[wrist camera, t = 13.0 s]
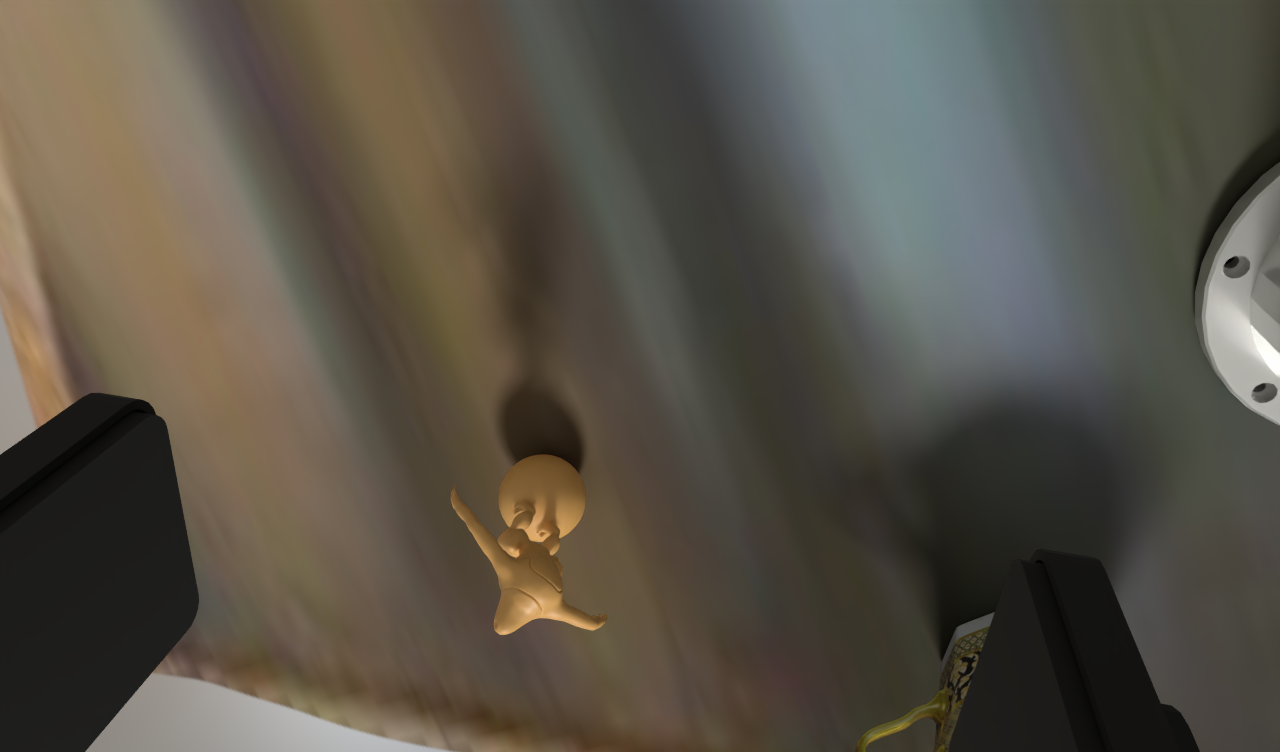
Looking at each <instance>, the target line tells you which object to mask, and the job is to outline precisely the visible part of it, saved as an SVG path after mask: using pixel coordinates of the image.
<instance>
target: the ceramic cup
mask: <svg viewBox="0 0 1280 752" xmlns="http://www.w3.org/2000/svg"><path fill="white" fill-rule="evenodd" d="M994 613H995V612H993V613H991V614H988V615H986V616H983V617H980V618H978V619H975V620H972V621H970V622H967V623H965V624H962V625H960V626H958V627H957V628H956V630H955V632H954V634H953V637H952V639H951V641H950V644H949V646H948V648H947V651H946V653H945V655H944V658H943V660H942V664H941V678H940V691H938V692H937V693H936V695H935V696H934V698H933V699H932V700H931V701H930V702H929V703H927V704H925V705H922V706H919V707H916V708H915V709H913V710H912V711H910V712H909V713H907V714H906V715H905V716H903V717H901V718H899V719H896V720H894V721H891V722H888V723H885V724H882V725H879V726H877V727H874V728H872V729H870V730H869V731H867V732H866V733H864V735H863V736H862V737H861V738H860V740H859V742H858V744H857V746H856V752H866V751H865V749H866V746H867V745H868V744H869V743H871V742H873V741H875V740H877V739H879V738H882V737H885V736H888V735H891V734H894V733H896V732H899V731H901V730H903V729H905V728H907V727H908V726H910V725H911V724H912V723H913V722H915V721H916V720H918V719H921V718H931V719H933V720H934V721H935V723H936V736H935V747H934V752H948V750H949V744H950V740H951V737H952V734H953V731H954V728H955V725H956V722H957V719H958V717H959V714H960V711H961V708H962V705H963V702H964V699H965V696H966V693H967V691H968V688H969V685H970V682H971V679H972V676H973V673H974V670H975V667H976V665H977V662H978V659H979V656H980V653H981V650H982V647H983V644H984V641H985V639H986V636H987V633H988V630H989V627H990V624H991V621H992V618H993V615H994Z"/></svg>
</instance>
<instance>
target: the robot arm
mask: <svg viewBox="0 0 1280 752" xmlns="http://www.w3.org/2000/svg"><path fill="white" fill-rule="evenodd" d="M1232 257H1234V259H1233V260H1232V262H1230V263H1228V264H1225V263H1226V261H1227V260H1228V259H1230V258H1232ZM1195 324H1196V328H1197V332H1198V336H1199V340H1200V344H1201V348H1202V350H1203V352H1204V354H1205V356H1206V357H1207V359H1208V361H1209V363H1210V365H1211V367H1212V369H1213V371H1214V372H1215V373H1216V374H1217V376H1218V377H1219V378H1220V379H1221V380H1222V382H1223V383H1224V384H1225V386H1226V387H1227V388H1228V389H1229V391H1230V392H1231V393H1232V394H1233V395H1234V396H1235V397H1237V398H1238V399H1239V400H1240V401H1241V402H1242V403H1243V404H1244V405H1245V406H1246V407H1248V408H1249V409H1250V410H1252V411H1254V412H1256V413H1258V414H1259V415H1261V416H1263V417H1265V418H1267V419H1268V420H1270V421H1272V422H1274V423H1276V424H1278V425H1280V162H1279V163H1277V164H1276V165H1275V166H1274V167H1272V168H1271V169H1270V170H1268V171H1267V172H1266V173H1265V174H1263V175H1262V176H1261V177H1260V178H1259V179H1258V180H1257V181H1256V182H1255V183H1254V184H1253V185H1252V187H1251V188H1250V189H1249V190H1248V191H1247V192H1246V193H1245V194H1244V195H1243V196H1242V197H1241V198H1240V199H1239V200H1238V201H1237V202H1236V203H1235V205H1234V206H1233V208H1232V209H1231V211H1230V212H1229V214H1228V215H1227V216H1226V218H1225V219H1224V221H1223V222H1222V224H1221V225H1220V227H1219V228H1218V230H1217V231H1216V232H1215V235H1214V237H1213V239H1212V241H1211V243H1210V246H1209V248H1208V250H1207V252H1206V255H1205V257H1204V259H1203V261H1202V264H1201V268H1200V273H1199V277H1198V282H1197V286H1196V290H1195ZM198 604H199V595H198V589H197V584H196V579H195V573H194V568H193V563H192V557H191V552H190V546H189V541H188V536H187V530H186V525H185V520H184V514H183V509H182V504H181V498H180V493H179V488H178V482H177V477H176V472H175V466H174V461H173V456H172V450H171V445H170V440H169V434H168V429H167V426H166V423H165V421H164V420H163V419H162V417H159V416H157V415H156V414H155V411H154V409H153V407H152V406H151V405H150V404H149V403H148V402H146V401H144V400H140V399H134V398H128V397H122V396H116V395H110V394H104V393H90V394H88V395H86V396H84V397H82V398H81V399H79V400H78V401H77V402H75V403H74V404H72V405H71V406H69V407H68V408H67V409H65V410H64V411H62V412H61V413H59V414H58V415H57V416H55V417H54V418H52V419H51V420H49V421H48V422H47V423H45V424H44V425H42V426H41V427H39V428H38V429H36V430H35V431H34V432H32V433H31V434H30V435H28V436H27V437H25V438H24V439H22V440H21V441H19V442H18V443H17V444H15V445H14V446H12V447H11V448H9V449H8V450H6V451H5V452H4V453H2V454H1V455H0V752H85V751H86V750H87V749H88V748H89V746H90V745H91V744H92V743H93V742H94V740H95V739H96V738H97V737H98V736H99V734H100V733H101V732H102V731H103V730H104V729H105V727H106V726H107V725H108V724H109V723H110V722H111V720H112V719H113V718H114V717H115V716H116V714H117V713H118V712H119V711H120V710H121V709H122V707H123V706H124V705H125V703H127V701H128V700H129V699H130V698H131V697H132V696H133V694H134V693H135V692H136V691H137V690H138V688H139V687H140V686H141V685H142V684H143V682H144V681H145V680H146V679H147V678H148V677H149V675H150V674H151V673H152V672H153V671H154V670H155V668H156V667H157V666H158V665H159V664H160V662H161V661H162V660H163V659H164V658H165V657H166V655H167V654H168V653H169V652H170V651H171V649H172V648H173V647H174V646H175V645H176V644H177V642H178V641H179V640H180V639H181V638H182V636H183V635H184V634H185V633H186V632H187V631H188V629H189V628H190V626H191V625H192V623H193V621H194V619H195V617H196V613H197V610H198ZM948 752H1200V751H1199V748H1198V746H1197V744H1196V742H1195V739H1194V737H1193V735H1192V732H1191V730H1190V728H1189V726H1188V724H1187V723H1186V721H1185V719H1184V718H1183V716H1182V714H1181V713H1180V712H1179V711H1178V710H1176V709H1175V708H1174V707H1173V706H1171V705H1166V704H1161V703H1160V701H1159V699H1158V696H1157V694H1156V691H1155V689H1154V687H1153V684H1152V682H1151V679H1150V677H1149V675H1148V672H1147V670H1146V667H1145V665H1144V663H1143V660H1142V658H1141V655H1140V653H1139V650H1138V648H1137V646H1136V643H1135V641H1134V638H1133V636H1132V634H1131V631H1130V629H1129V626H1128V624H1127V622H1126V619H1125V617H1124V614H1123V612H1122V610H1121V607H1120V605H1119V602H1118V600H1117V597H1116V595H1115V593H1114V590H1113V588H1112V585H1111V583H1110V581H1109V578H1108V576H1107V573H1106V571H1105V569H1104V567H1103V565H1102V563H1101V562H1100V561H1099V560H1098V559H1096V558H1092V557H1086V556H1080V555H1074V554H1068V553H1062V552H1056V551H1050V550H1044V549H1040V550H1037V551H1036V552H1035V553H1034V554H1033V555H1032V557H1031V559H1030V561H1023V560H1015V561H1014V562H1013V564H1012V565H1011V567H1010V570H1009V572H1008V575H1007V578H1006V581H1005V584H1004V587H1003V589H1002V592H1001V595H1000V598H999V601H998V604H997V607H996V610H995V613H994V615H993V618H992V621H991V624H990V627H989V630H988V633H987V636H986V639H985V641H984V644H983V647H982V650H981V653H980V656H979V659H978V662H977V665H976V667H975V670H974V673H973V676H972V679H971V682H970V685H969V688H968V691H967V693H966V696H965V699H964V702H963V705H962V708H961V711H960V714H959V717H958V719H957V722H956V725H955V728H954V731H953V734H952V737H951V740H950V744H949V750H948Z"/></svg>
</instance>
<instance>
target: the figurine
mask: <svg viewBox="0 0 1280 752" xmlns="http://www.w3.org/2000/svg"><path fill="white" fill-rule="evenodd" d="M451 502H452V505H453V508H455V510H456V512H457V514H458V515H459V516H460V518H461V519H462V520H464V521H465V522H466V524H467V527H468V528H469V530H470V531H471V532H472V534H473V536H474V537H475V539H476V541H477V542H478V544H479V546H480V547H481V549H482V550H483V551H484V553H485V554H486V555H487V556H488V558H489V559H490V561H491V562H492V564H493V566H494V568H495V571H496V573H497V575H498V578H499V580H498V581H499V586H500V589H501V599H500V602H499V605H498V608H497V611H496V615H495V619H494V628H495V631H496V632H497V633H499V634H501V635H506V634H509V633H512V632H514V631H515V630H517V629H518V628H520V627H521V626H522V625H524V624H526V623H527V622H529V621H531V620H533V619H537V618H549V619H554V620H560V621H565V622H568V623H570V624H572V625H574V626H577V627H581V628H584V629H589V630H595V629H597V628H599V627H601V626H602V625H603V624H604V623H605V622H606V620H607V614H606V613H605V615H604V617H602V615H601V614H599V617H598V616H594V615H593V617H592V616H590V615H588V614H586V613H585V612H583V611H580V610H578V609H576V608H574V607H572V606H570V605H568V604H566V603H565V602H564V600H563V596H562V595H563V584H562V578H561V576H562V573H563V567H562V565H561V564H560V562H559V560H558V558H557V557H555V556H552V555H553V554H555V553H556V551H557V550H558V548H559V545H560V539H559V538H561V537H563V536H565V535H566V534H568V533H569V532H570V531H571V530H572V529H573V528H574V527H575V526H576V525H577V524H578V522H579V521H580V519H581V517H582V515H583V512H584V509H585V504H586V491H585V486H584V483H583V481H582V478H581V477H580V475H579V473H578V472H577V471H576V469H575V468H574V467H573V466H572V465H571V464H569V463H568V462H567V461H565V460H563V459H561V458H559V457H556V456H552V455H545V454H540V455H533V456H530V457H527V458H524V459H522V460H521V461H519V462H518V463H516V464H515V465H514V466H513V467H512V468H511V469H510V470H509V471H508V472H507V474H506V475H505V477H504V479H503V481H502V483H501V486H500V490H499V507H500V511H501V514H502V517H503V519H504V520H505V522H506V524H507V525H508V526H509V527H510V528H509V529H507V530H505V531H504V532H503V533H502V534H501V535H500V536H499V538H498V542H497V541H496V540H495V538H494V537H493V536H492V535H491V534H490V532H489V531H488V530H487V529H486V528H485V527H484V526H483V525H482V524H481V523H480V522H479V521H478V519H477V517H476V516H475V515H474V513H473V512H472V511H471V510H470V509H469V508H468V507H467V506H466V505H465V504H464V503H463V502H462V501H461V500H460V499H459V497H458V496H457V493H456V491H455V486H454V487H453V490H452V491H451ZM532 541H536V542H543V543H542V545H539V544H536V543H533V542H532ZM504 550H506V552H507V553H508V554H509V555H511V556H513V557H517V558H516V559H513V558H512V557H510V556H509V555H508V554H507V553H506V552H505V551H504Z"/></svg>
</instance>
